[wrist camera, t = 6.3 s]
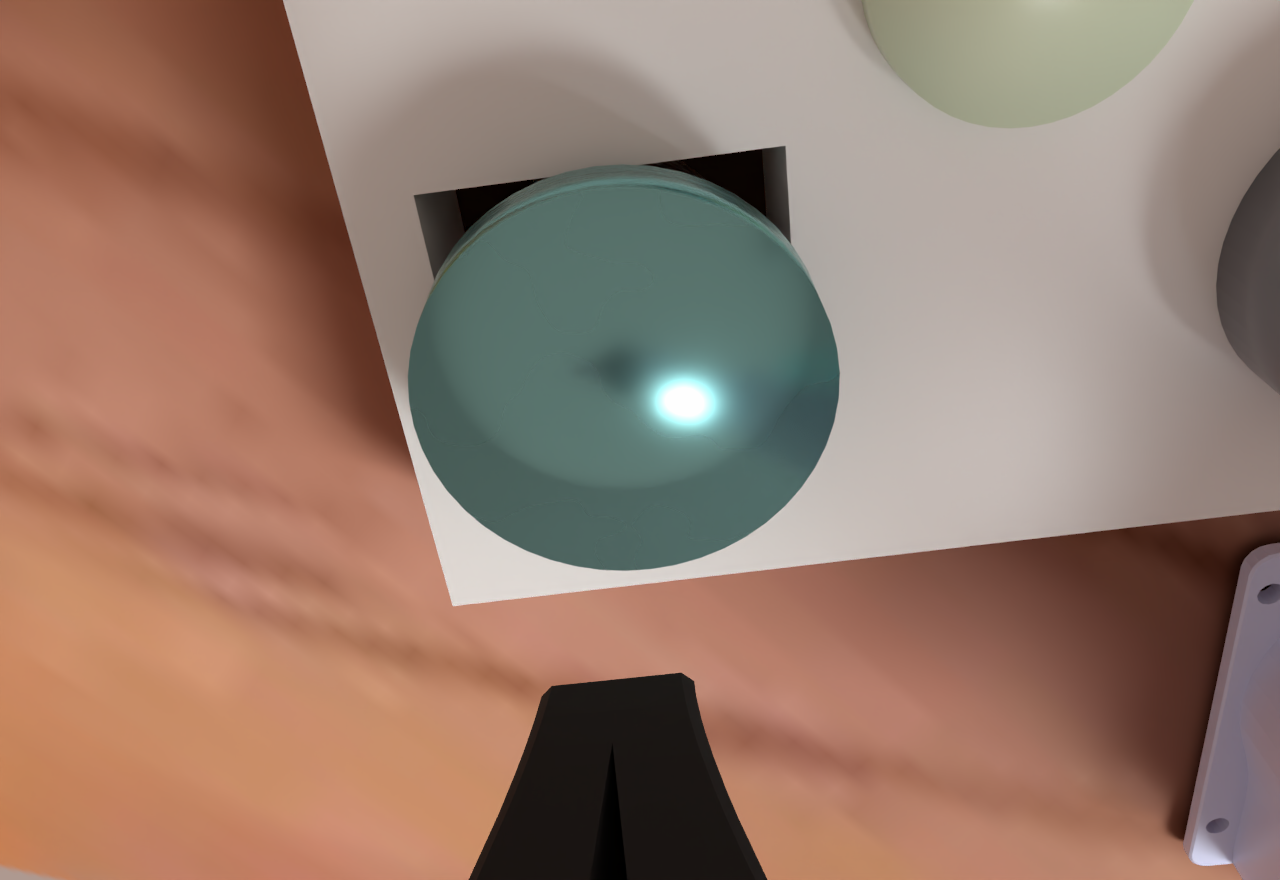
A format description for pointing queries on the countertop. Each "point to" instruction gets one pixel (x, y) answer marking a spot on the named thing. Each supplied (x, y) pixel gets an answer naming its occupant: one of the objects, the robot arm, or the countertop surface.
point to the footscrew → (623, 368)
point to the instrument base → (879, 237)
